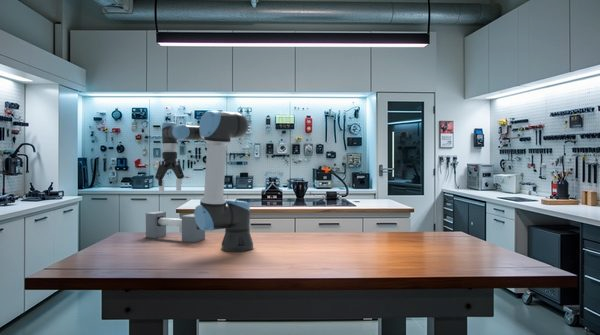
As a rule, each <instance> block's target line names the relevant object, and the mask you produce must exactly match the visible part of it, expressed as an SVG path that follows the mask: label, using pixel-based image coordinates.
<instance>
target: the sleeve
mask: <svg viewBox="0 0 600 335" xmlns="http://www.w3.org/2000/svg"><path fill="white" fill-rule="evenodd" d="M181 219H182V227H181V241H182V242H188V243H197V242H200V241H204V240H205V239H206V231H203V230H201V229H200V228H199V227H198V226H197V224H196V221H195V217H194V213H191V214H185V215H181Z"/></svg>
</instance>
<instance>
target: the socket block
mask: <svg viewBox="0 0 600 335" xmlns="http://www.w3.org/2000/svg"><path fill="white" fill-rule="evenodd" d="M157 217H161V218H167V212H166V211H160V210H159V211H158V210H157V211H152V212H147V213H146V212H145V237H146V238H147V239H157V238H160V237H164V236H166V235H167V225H157Z"/></svg>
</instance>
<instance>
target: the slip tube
mask: <svg viewBox="0 0 600 335" xmlns="http://www.w3.org/2000/svg"><path fill="white" fill-rule="evenodd" d="M157 225H166V227H167V226H169V227H170V226H171V227H181V228H182V218H174V217H173V218H172V217H171V218H170V217H166V218H161V217H157Z"/></svg>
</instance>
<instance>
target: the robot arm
mask: <svg viewBox="0 0 600 335" xmlns="http://www.w3.org/2000/svg"><path fill="white" fill-rule="evenodd" d="M198 124H199V125H187V124H181V123H179V124H177V123H176V122H172V121H171V122H170V121H168V122H167V121H165V122H163V123H162V124H161V139H162V140H161V142H162V143H161V144H162V146H161V147H162V156H161V157H162V160H159V162H158V168H157V170H156V173H155V176H154V179H156V181H158V182H157V185H158V193H165V180H164V178H165V176H166V174H167V173H168V170H169V171H170V170H172V172H173V173H174V175H175V177H176V179H175V191H176V192H177V191H178V192H179V191H180V192H181V191H182V179H184V178H185V175H184V172H183V169H182V166H181V161H180V160H178V152H177V151H178V140H182V141H183V140H184V141H185V140H186V141H203V142H205V144H206V159H205V175H204V190H203V193H204V194H203V197H202V198H201V199H200V201H199V202H200V203H199V204H198V205H196V206H195V209H194V211H193V214H194V217H195V221H196V224H197V226H198V227H199V228H200V229H201V230H203V231H205V232H206V231H210V232H211V231H215V230H222V229H223V230H224V229H225V230H224V234H223V238H222V241H221V250H222V251H226V252H231V253H232V252H235V253H236V252H237V253H238V252H246V251H251V250H253V249H254V242H253V238H252V235H251V229H250V228H251V226H250V223H251V221H250V218H251V217H250V216H251V214H250V212H251V209H250V203H249V202H248V201H246V200H245V201H244V200H237V199H236V200H235V199H225V198H224V192H225V191H224V189H225V177H226V176H225V175H226V162H227V161H226V160H227V159H226V158H227V148H228V145H229V144H230V143H231V138H233V139H234V138H241V137H243V136H245V134H247V133H248V131H249V121H248V119H247V117H246V116H244V115H243V114H242V113H240V112H236V111H234V112H232V111H222V110H208V111H205V112H204V113H203V114H202V115H201V118H200V121H199V123H198Z"/></svg>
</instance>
